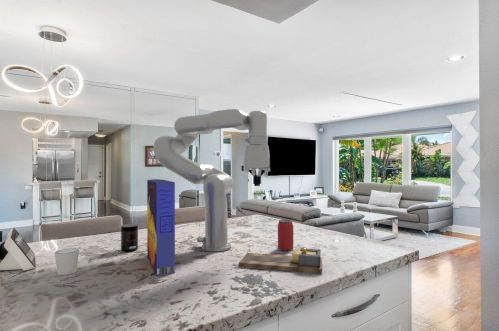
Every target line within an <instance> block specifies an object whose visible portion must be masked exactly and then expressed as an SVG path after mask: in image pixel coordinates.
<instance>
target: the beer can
mask: <svg viewBox="0 0 499 331" xmlns="http://www.w3.org/2000/svg"><path fill="white" fill-rule="evenodd" d="M277 249H278V250H279V251H284V252H289V251H293V249H294V223H293V220H291V219H279V220H278V223H277Z"/></svg>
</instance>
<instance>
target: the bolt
mask: <svg viewBox="0 0 499 331" xmlns="http://www.w3.org/2000/svg"><path fill="white" fill-rule="evenodd" d="M301 248H302V251H300V250H295V249H294V250H293V249H292V253H291V256H292V262H295V263H299V254H313V255H316V252H310V251H307V249H308V247H301Z"/></svg>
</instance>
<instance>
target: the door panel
mask: <svg viewBox="0 0 499 331" xmlns="http://www.w3.org/2000/svg"><path fill="white" fill-rule="evenodd" d="M238 267H239V268H250V269H262V270H271V271H272V270H273V271H284V272H285V271H286V272H294V273H295V272H296V273H308V274H321V275H322V274H323V273H322V272H323V258H322V257H321V262H320V267H309V266H299V263H295V262H292V255H284V254H270V253H257V252H256V253H255V252H247V253H246V254H245V255H244V256H242V258H241V259H240V260H239V262H238Z"/></svg>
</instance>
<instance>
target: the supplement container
mask: <svg viewBox="0 0 499 331" xmlns="http://www.w3.org/2000/svg"><path fill="white" fill-rule="evenodd" d="M138 249H139V224H138V223H125V224H122V225H120V250H121V252H123V253H133V252H136V251H138Z"/></svg>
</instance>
